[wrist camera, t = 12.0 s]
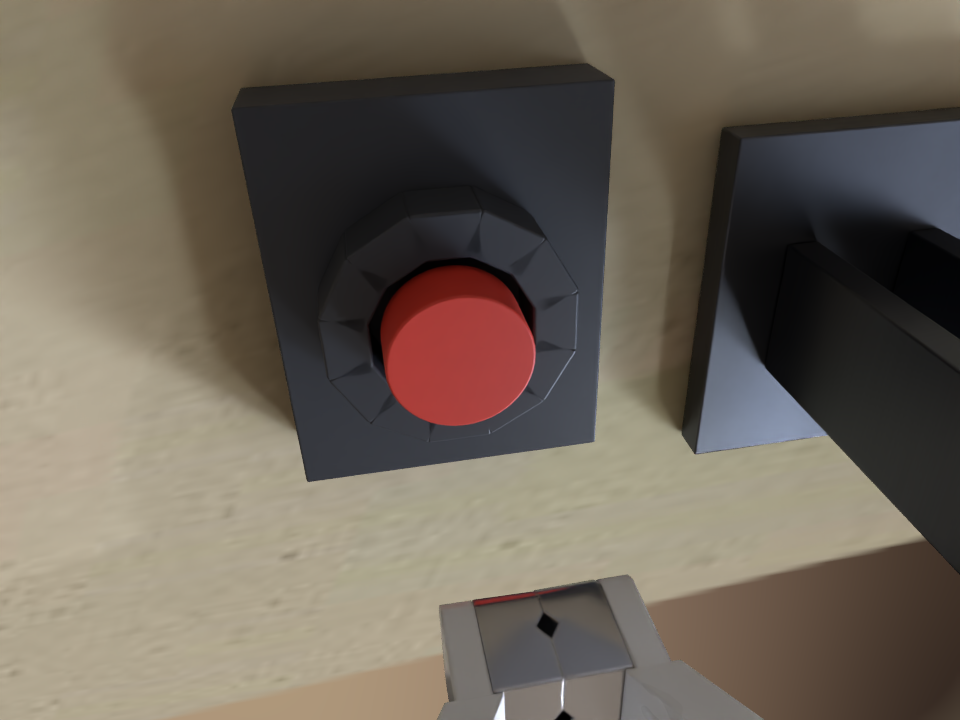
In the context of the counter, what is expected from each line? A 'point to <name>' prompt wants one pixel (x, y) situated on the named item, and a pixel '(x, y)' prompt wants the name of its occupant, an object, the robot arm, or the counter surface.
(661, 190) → the counter surface
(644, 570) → the counter surface
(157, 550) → the counter surface
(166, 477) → the counter surface
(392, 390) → the button
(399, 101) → the control block
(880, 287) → the bracket
